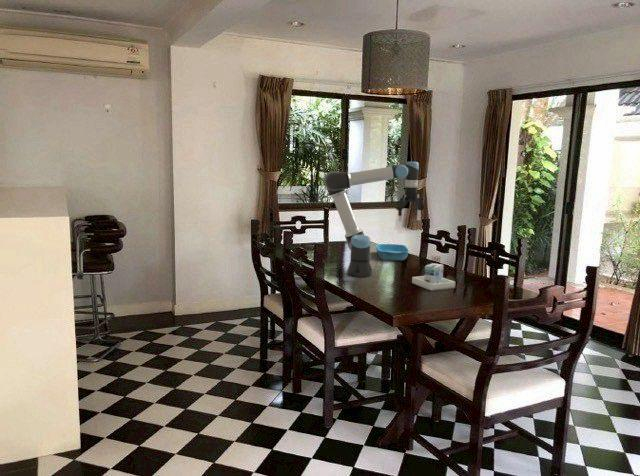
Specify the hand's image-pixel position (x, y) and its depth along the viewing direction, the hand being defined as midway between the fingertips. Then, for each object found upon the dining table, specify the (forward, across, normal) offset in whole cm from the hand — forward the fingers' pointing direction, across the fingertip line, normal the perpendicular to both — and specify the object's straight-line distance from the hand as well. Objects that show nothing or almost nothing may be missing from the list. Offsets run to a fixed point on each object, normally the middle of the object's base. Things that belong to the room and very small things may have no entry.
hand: (409, 220), depth 317 cm
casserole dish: (+32, +14, +40) cm, 53 cm away
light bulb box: (+31, -9, -38) cm, 50 cm away
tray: (+32, -9, -38) cm, 50 cm away
